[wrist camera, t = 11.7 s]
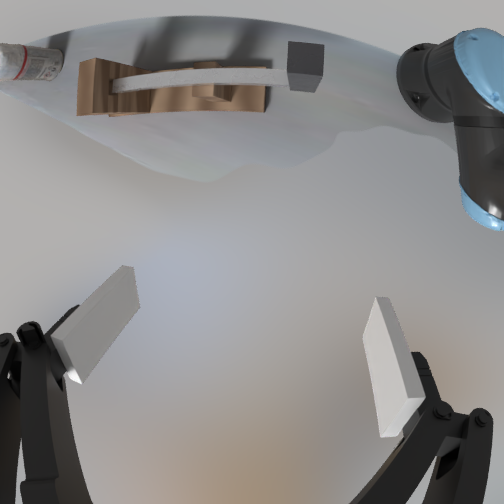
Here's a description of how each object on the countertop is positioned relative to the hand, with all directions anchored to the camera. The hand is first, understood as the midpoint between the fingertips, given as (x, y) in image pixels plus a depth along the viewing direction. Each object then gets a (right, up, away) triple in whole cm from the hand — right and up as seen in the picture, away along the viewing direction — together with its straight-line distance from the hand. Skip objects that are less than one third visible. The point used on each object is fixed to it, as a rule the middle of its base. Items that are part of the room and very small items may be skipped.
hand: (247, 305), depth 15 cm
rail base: (-12, +32, +31) cm, 46 cm away
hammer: (-6, +25, +18) cm, 32 cm away
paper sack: (-46, +47, +30) cm, 72 cm away
